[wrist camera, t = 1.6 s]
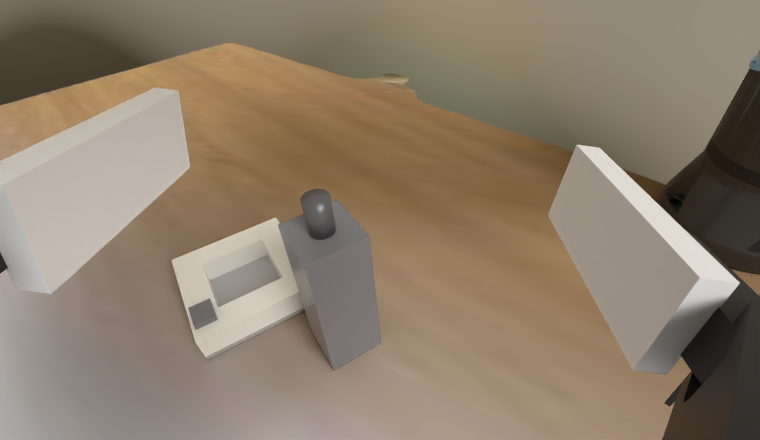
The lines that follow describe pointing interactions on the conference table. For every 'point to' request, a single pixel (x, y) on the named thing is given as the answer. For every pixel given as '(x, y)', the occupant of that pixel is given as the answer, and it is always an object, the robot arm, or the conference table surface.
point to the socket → (237, 287)
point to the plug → (333, 277)
